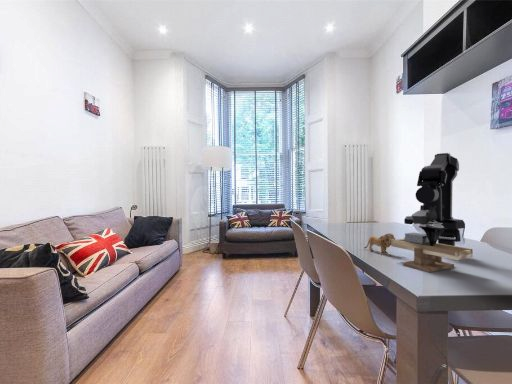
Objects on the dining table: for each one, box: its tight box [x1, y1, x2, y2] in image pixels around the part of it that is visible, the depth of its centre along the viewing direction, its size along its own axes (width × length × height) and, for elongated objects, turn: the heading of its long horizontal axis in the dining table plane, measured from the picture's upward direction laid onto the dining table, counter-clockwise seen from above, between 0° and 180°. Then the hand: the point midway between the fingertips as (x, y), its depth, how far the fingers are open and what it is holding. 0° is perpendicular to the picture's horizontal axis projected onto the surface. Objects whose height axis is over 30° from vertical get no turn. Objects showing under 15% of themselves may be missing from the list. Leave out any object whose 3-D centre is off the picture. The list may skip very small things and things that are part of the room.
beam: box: [390, 237, 474, 261], centre depth 106 cm, size 8×25×3 cm, turn 25°
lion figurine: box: [363, 233, 396, 255], centre depth 129 cm, size 15×5×9 cm, turn 36°
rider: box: [404, 232, 431, 246], centre depth 109 cm, size 5×7×4 cm
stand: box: [402, 248, 455, 273], centre depth 106 cm, size 14×10×7 cm
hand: (432, 246), depth 104 cm, fingers closed
